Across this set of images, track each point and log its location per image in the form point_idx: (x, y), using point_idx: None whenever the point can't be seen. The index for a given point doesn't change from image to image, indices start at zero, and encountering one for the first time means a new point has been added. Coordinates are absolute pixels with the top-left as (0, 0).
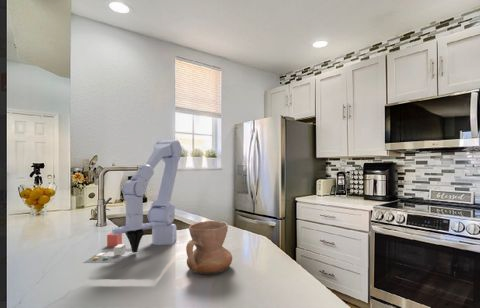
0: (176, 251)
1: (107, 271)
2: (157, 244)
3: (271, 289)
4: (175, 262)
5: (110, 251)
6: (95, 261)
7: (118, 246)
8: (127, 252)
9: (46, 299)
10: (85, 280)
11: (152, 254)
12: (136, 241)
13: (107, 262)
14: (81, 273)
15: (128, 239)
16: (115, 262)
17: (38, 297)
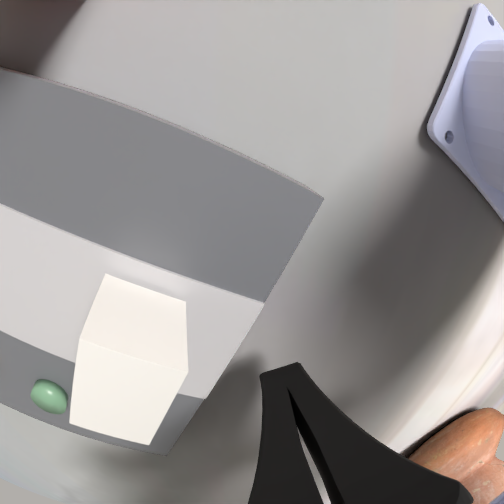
0: (498, 282)
1: (120, 448)
2: (496, 180)
3: None
4: (417, 410)
5: (5, 184)
6: (6, 394)
7: (109, 415)
8: (210, 313)
9: (39, 490)
10: (69, 469)
11: (403, 292)
12: (327, 492)
13: (93, 437)
14: (9, 419)
15: (251, 492)
16: (145, 450)
17: (13, 477)
